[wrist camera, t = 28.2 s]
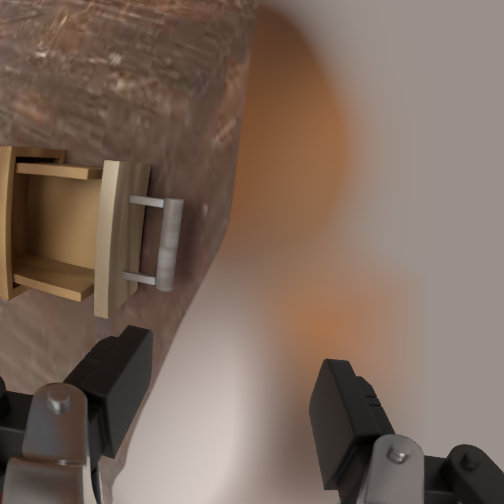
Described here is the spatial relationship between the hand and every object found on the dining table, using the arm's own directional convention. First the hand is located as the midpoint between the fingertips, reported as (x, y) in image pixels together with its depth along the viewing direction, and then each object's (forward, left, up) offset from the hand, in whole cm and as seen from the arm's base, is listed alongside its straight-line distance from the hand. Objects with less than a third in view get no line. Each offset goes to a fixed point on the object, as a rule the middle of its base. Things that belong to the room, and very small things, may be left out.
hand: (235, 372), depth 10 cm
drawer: (+14, 0, -19) cm, 23 cm away
